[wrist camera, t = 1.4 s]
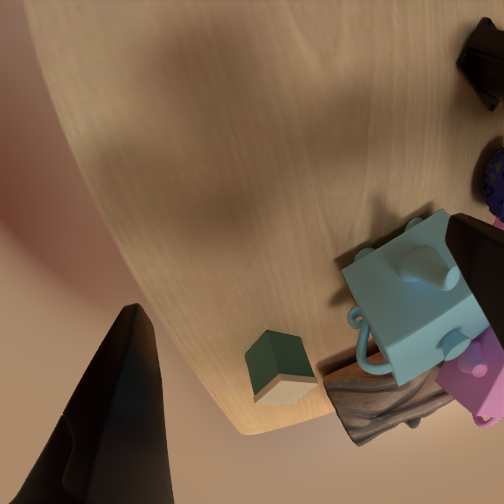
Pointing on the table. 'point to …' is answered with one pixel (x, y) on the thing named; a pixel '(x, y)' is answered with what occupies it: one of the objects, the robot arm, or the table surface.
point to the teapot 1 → (412, 301)
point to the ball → (495, 184)
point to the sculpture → (382, 399)
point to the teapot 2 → (477, 378)
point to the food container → (279, 369)
